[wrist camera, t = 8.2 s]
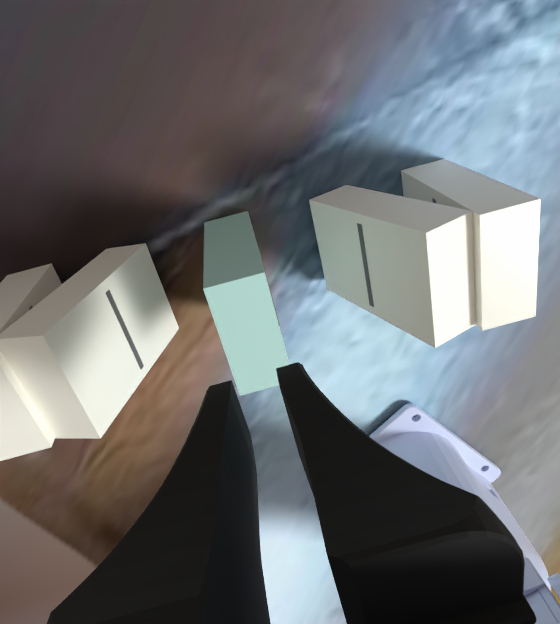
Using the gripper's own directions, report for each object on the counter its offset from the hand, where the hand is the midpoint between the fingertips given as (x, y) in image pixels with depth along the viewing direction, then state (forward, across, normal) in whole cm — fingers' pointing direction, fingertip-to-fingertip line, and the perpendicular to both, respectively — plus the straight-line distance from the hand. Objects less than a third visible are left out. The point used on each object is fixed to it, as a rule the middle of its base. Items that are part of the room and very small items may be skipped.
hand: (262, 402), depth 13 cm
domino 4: (+10, -5, 0) cm, 11 cm away
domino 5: (+10, -9, 0) cm, 14 cm away
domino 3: (+10, 0, 0) cm, 10 cm away
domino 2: (+10, +5, 0) cm, 11 cm away
